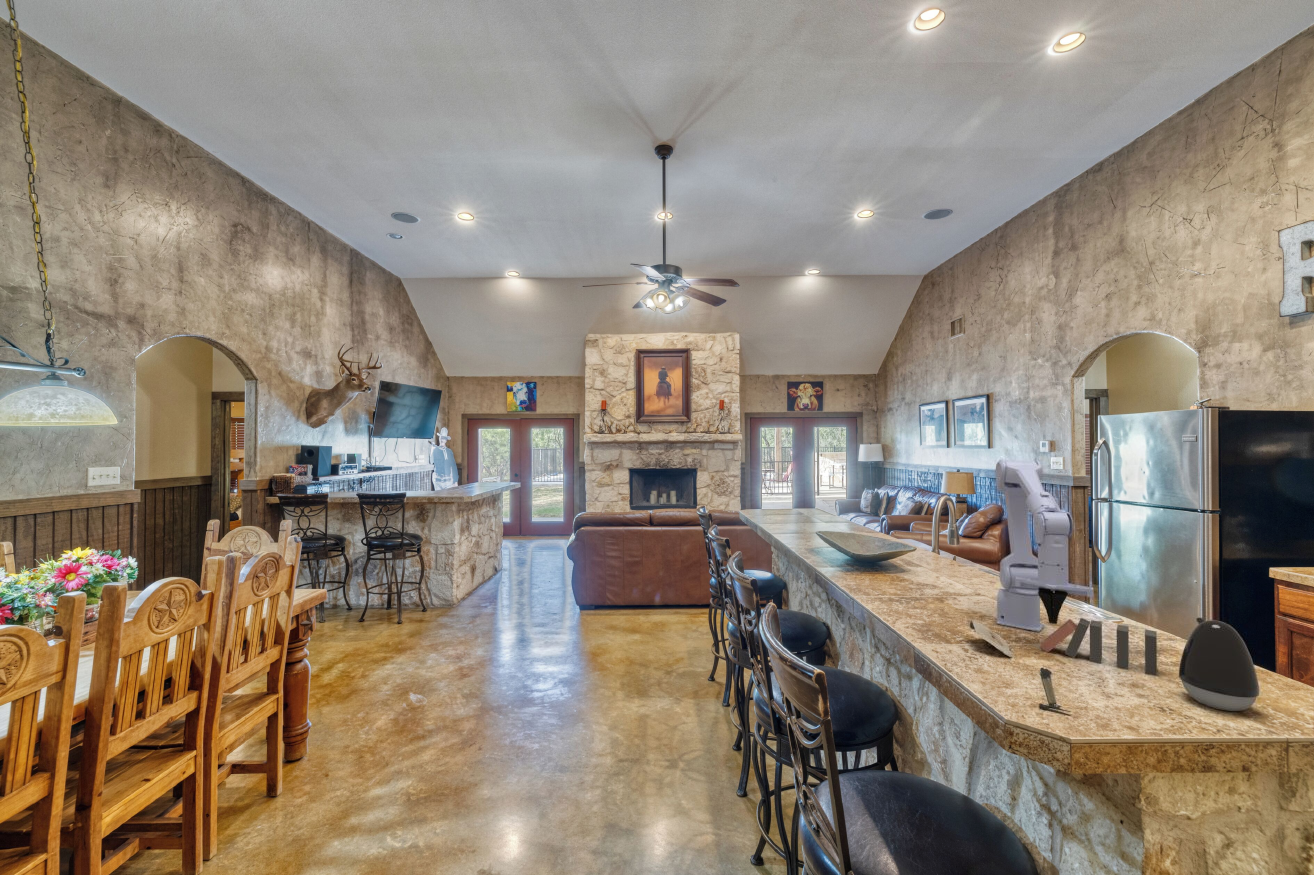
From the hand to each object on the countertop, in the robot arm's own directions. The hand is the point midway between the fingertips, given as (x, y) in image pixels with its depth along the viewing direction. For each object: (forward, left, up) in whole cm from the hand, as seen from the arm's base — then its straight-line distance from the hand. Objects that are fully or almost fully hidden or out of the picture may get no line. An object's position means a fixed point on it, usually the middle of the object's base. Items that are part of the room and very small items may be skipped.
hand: (1053, 622), depth 125 cm
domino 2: (+8, 0, -6) cm, 10 cm away
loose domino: (-2, 0, -6) cm, 6 cm away
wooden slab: (-11, -9, -7) cm, 15 cm away
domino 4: (+17, 0, -6) cm, 18 cm away
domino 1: (+3, 0, -6) cm, 7 cm away
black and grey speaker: (+26, -12, -7) cm, 29 cm away
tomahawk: (+3, -27, -7) cm, 28 cm away
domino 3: (+12, 0, -6) cm, 14 cm away
